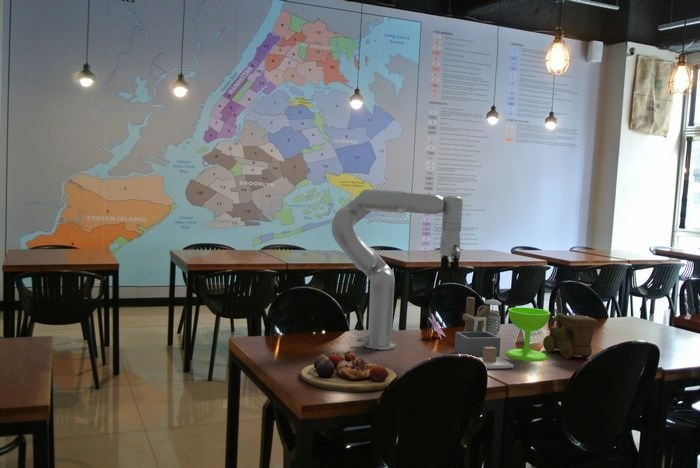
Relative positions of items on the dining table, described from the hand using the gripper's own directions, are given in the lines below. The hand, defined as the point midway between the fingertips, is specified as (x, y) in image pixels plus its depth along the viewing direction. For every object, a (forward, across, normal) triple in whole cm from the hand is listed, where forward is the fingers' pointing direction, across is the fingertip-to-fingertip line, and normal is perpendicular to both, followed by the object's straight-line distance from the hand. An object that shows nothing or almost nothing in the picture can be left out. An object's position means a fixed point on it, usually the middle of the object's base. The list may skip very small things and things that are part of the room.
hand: (449, 270), depth 251 cm
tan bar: (+23, -8, +15) cm, 28 cm away
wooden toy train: (+33, +11, +48) cm, 59 cm away
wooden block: (+32, -21, +23) cm, 45 cm away
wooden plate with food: (+33, +34, -48) cm, 67 cm away
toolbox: (+32, +6, +10) cm, 34 cm away
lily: (+33, -23, +5) cm, 40 cm away
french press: (+32, -32, +35) cm, 57 cm away
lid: (+33, +23, +8) cm, 41 cm away
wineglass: (+32, +11, +30) cm, 46 cm away
